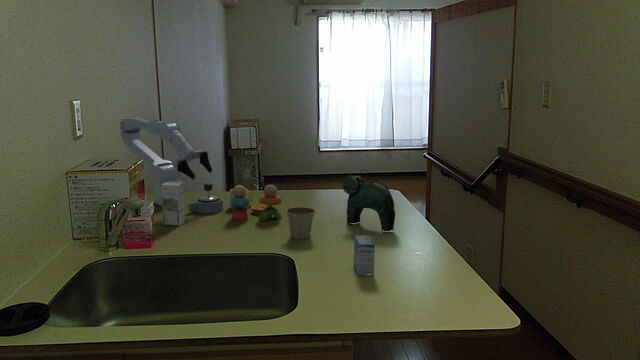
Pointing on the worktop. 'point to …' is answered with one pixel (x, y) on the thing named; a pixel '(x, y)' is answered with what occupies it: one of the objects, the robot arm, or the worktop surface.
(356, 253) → the medicine box
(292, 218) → the flower pot
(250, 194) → the beige rounded domed part
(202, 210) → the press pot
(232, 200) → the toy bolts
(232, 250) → the worktop surface
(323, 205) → the worktop surface
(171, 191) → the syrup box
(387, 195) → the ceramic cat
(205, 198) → the plunger
